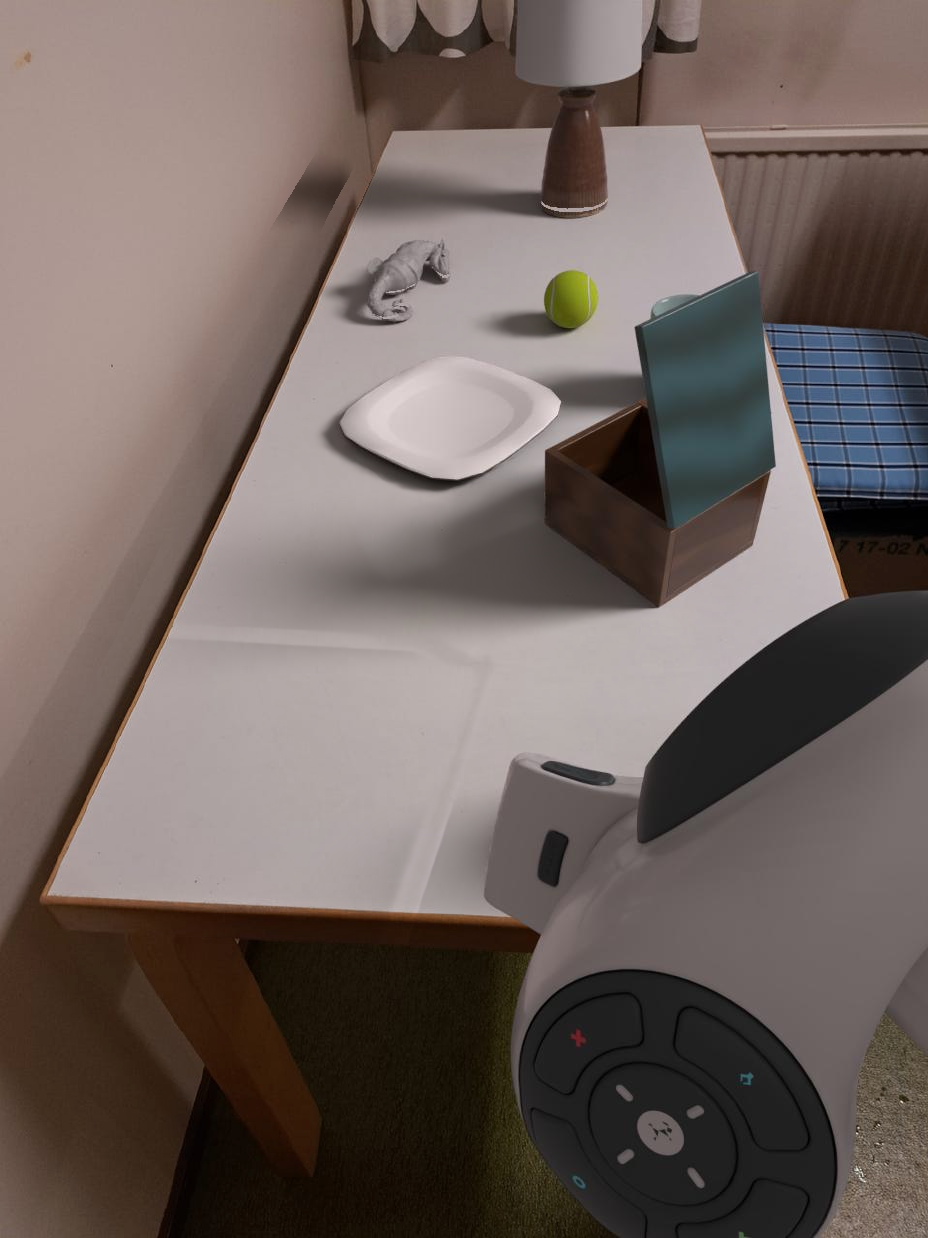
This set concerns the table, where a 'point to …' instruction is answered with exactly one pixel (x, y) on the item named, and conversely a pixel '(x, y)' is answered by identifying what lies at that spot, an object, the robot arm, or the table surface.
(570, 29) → the lamp
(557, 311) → the tennis ball
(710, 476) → the teal box lid
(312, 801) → the table surface
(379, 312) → the seahorse
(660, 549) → the wooden box
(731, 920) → the robot arm
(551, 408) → the plate
